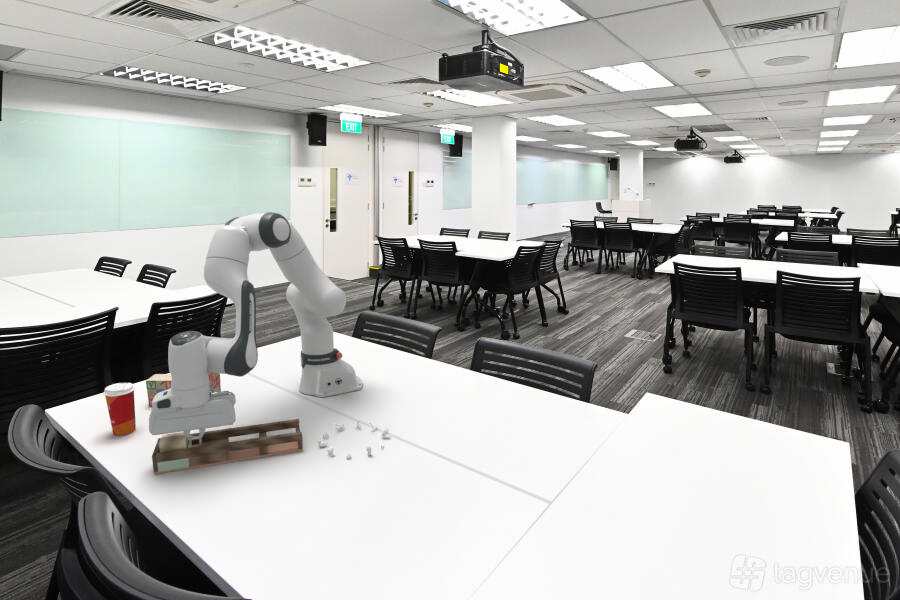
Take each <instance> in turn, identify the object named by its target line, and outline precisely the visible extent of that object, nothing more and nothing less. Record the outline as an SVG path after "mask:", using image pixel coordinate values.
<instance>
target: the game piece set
mask: <svg viewBox="0 0 900 600" xmlns="http://www.w3.org/2000/svg"><path fill="white" fill-rule="evenodd" d="M356 423H357V424H356V425H355V426H354V427H353V428H354V430H355V431H360V430H362V425H360V424H359V423H360V419H359V418H357V419H356ZM368 424H369V425H370V426H371V427H372V429H371V432H372V433H375V432H376V431H377V430H378V427H377V426H374V425H372V424H371V421H370V422H368ZM334 425H335V426H337V427H338V428H337V427H335V431H337V433H338V432H341V431H343V430H344V429H345V427H344V425H345V423H343V424H341V425H339V424H338V423H334ZM387 434H389V429H387V428H384V429H382V431H381V434H380V437H382V439H384V440H385V439H386V436H387ZM328 439H329V433H328V431H325V433H323V434H322V440H328ZM322 440H321V439H319V440H317V441H316V443H318V446H320V448H323V447H326V446H327V445H328V444H329V443H328V442H326V441H322ZM384 448H385V445H384V444H383V445H382V444H381V445H380V449H384ZM365 450H366V451H367V456H368V457H370V456H372V446H370V445H367V446H366V448H365ZM334 451H335V447H333V446H330V447H329V448H327V449H326V452H327V453H328V454H326V456H327V457H328V458H331V457H333V456H335V455H334ZM345 458H346V460H351V459H352V455H351V454H350V453H348V454H347V455H346V456H345Z"/></svg>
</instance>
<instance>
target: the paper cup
mask: <svg viewBox="0 0 900 600" xmlns="http://www.w3.org/2000/svg"><path fill="white" fill-rule="evenodd" d="M135 389H136V388H135V386H134V384H133V383H131V382H118V383H114V384H111V385H108V386H106V387H105V388H104V391H103V395H104V396H105V402H106V405H107V411H108V416H109V420H110V425H111V429H112V433H113V435H114V436H116V437H117V436H118V437H122V436H123V437H124V436H127V435H130V434H133V433H135V431H136V430H137V429H136V428H137V427H136V426H137V425H136V406H135Z"/></svg>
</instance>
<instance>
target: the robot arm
mask: <svg viewBox="0 0 900 600" xmlns="http://www.w3.org/2000/svg"><path fill="white" fill-rule="evenodd" d="M208 246H209V247H208V249H207V254H206V258H205V261H204V262H205V263H204V266H203V279H204V281H205V282H206V284H207V286H208V287H209V288H210V289H212V290H213V291H214V292H216V293H217V294H219V295H221V296H223V297H225V298H227V299H229V300H230V301H232V303H233V304H234V307H235V335H234V337H217V336H206V335H204V334H202V332H199V331H196V330H187V331H183V332H179V333H177V334H175V335H173V336H172V337H171V338H170V340H169V343H168V350H167V351H168V353H167V354H168V356H167V357H168V359H167V363H168V371H169V374H171V376H172V382H171V388H170V389H167V390H165V391H162V392H159V393H157V394H156V395H155V397H154V398H153V401H152V409H151V411H150V414H149V417H148V431H149V433H150V434H151V436H159V435H166V434H173V433H180V432H184V436H185V437H186V438H187V439H188V440H189V444H190V446H192V445H198V444H202V436H203V435H204V433H205V432H206V429H210V428H218V427H225V426H233V425H234V424H235V422H236V420H237V419H236V417H237V416H236V409H235V404H236V403H237V402H236V401H237V399H236V394H235V393H234V392H232V391H229V390H223V391H221V392H210V386H209V379H208V376H207V374H208V373H209V372H211V373H220V375H221V374H224V375H229V376H234V377H245V376H246V375H247V374H249V373H250V372H251V371H253V370H254V369H255V367H256V366H257V363H258V360H259V359H258V358H259V353H258V346H257V344H258V343H257V333H256V332H257V300H256V299H257V296H256V290H255V286H254V285H253V283H252V282H250V281H249V277H248V268H249V261H250V254H251V252H260V251H264V250H269V251H270V253H271V255H272V257H273V259H274V261H275V262H276V264H277V266H278V268H279V269H280V271H281V273H282V274H283V276H284V278H285V279H286V280H287V281H288V282H289V283H290V284H289V285H288V287H287V289H286V293H285V297H286V300H287V302H288V303H289V305H290V306H291V307H292V309H293V311H294V315H295V317H296V319H297V323H298V326H299V331H300V341H301V351H300V366H301V377H300V384H299V388H298V391H299V392H300V393H302V394H305V395H311V396H316V397H318V398H326V397H331V396H336V395H339V394H346V393H350V392H354V391H355V392H356V391H360V390H362V388H363V386H364V384H363V380H362V378H360V377H359V376H357V374H356V371H355V369H354V367H353V366H352V365H351V364H350V363H348V362H346V361H345V360H343V359H342V358H343V354H342V352H340V350H339V349H337V348H335V347H334V344H335V342H334V330H333V329H334V328H333V326H332V324H330V322H329V321H328V319H327V317H328V316H330V317H331V316H337V315H339V314H341V313H342V312H343V311H344V310H345V307H346V305H347V296H346V293H345V292H344V290H343V289H342V288H340V287H339V286H337V285H336V284H335V283H334V282H333V281H332V280H331V278H329V276H327V274H326V273H325V272H324V270H322V268H320V266H319V264H318V263H317V262H316V261H315V258H314V256H313V255H312V253H311V251H310V250H309V248H308V246H307V244H306V243H305V241H304V239H303V237H302V236H301V234H300V232H299V231H298V230H297V228H296V227H295V226H294V224H292V222H290V221H289V220H287V218H286V217H285V216H283V215H282V214H280V213H277V212H266V213H263V212H259V213H250V214H249V215H245V216H240V217H239V216H238V217H234V218H231V219H230V220H229V219H228V221H226V222H225V224H224V225H221V226H219V227H218V228H216V230H215V232H214V233H213V236H212V238H211V241H210V244H209V245H208ZM210 396H211V397H210ZM196 430H198V433H200V434H199V436H194V437H192V435H191V434H192V433H191V431H196Z"/></svg>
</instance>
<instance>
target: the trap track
mask: <svg viewBox="0 0 900 600" xmlns="http://www.w3.org/2000/svg"><path fill="white" fill-rule="evenodd" d="M291 429H295V432H288V433H283V434H275V435H267V433H270V432H277V431H282V430H291ZM302 433H303V432H302V431H301V429H300V419H299V418H295V419H294V418H293V419H287V420H280V421H273V422H265V423H258V424H251V425H244V426H235V427H230V428H223V429H216V430H215V429H214V430H209V431H205V433H204V435H203V436H202V444H198V445H192V446H190V444H189V446H188V448H185V449H179V450H172V451H165V452H160V448H159V442H160V439H161V437H158V439H157V440H156V443H155V444H156V445H155V447H154V449H153V451H152V452H153V453H152V455H151V460H152V468H153V475H159V474H165V473H171V472H177V471H182V470H188V469H189V470H190V469H196V468H202V467H209V466H215V465H221V464H227V463H233V462H240V461H246V460H252V459H253V460H254V459H259V458H265V457H269V456H270V457H271V456H276V455H284V454H290V453H291V454H292V453H296V452H302V451H304V450H303V434H302ZM190 434H191V435H192V437H194V436H199V434H200V433H199V432H195V433H194V432H193V433H190ZM257 434H258V437H254V438H249V439H247V438H246V439H241V440H234V441H233V440H232V441H230V439H229V438H235V437H241V436H248V435H257ZM188 443H189V440H188Z"/></svg>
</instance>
